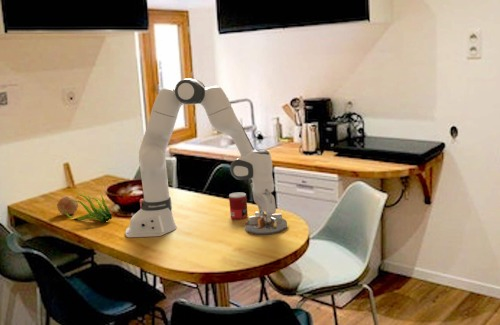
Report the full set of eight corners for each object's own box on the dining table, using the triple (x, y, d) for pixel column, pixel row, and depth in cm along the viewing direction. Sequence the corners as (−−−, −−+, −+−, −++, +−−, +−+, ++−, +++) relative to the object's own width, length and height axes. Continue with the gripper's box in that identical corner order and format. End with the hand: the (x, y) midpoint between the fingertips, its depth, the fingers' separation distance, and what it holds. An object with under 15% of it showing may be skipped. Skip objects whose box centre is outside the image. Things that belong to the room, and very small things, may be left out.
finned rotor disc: (273, 229, 217) (272, 221, 216) (245, 227, 223) (245, 219, 222) (285, 218, 229) (285, 210, 229) (259, 216, 235) (258, 209, 234)
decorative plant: (92, 209, 274) (88, 182, 270) (114, 222, 250) (110, 192, 247) (57, 217, 264) (53, 189, 260) (76, 232, 240) (72, 201, 237)
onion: (58, 213, 270) (55, 195, 268) (78, 210, 273) (75, 191, 271) (59, 219, 261) (56, 199, 259) (79, 215, 264) (76, 196, 262)
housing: (247, 237, 217) (247, 227, 216) (243, 223, 234) (242, 213, 233) (290, 232, 219) (290, 222, 218) (283, 218, 236) (282, 209, 235)
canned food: (246, 219, 239) (244, 196, 236) (229, 220, 240) (227, 197, 238) (249, 214, 246) (247, 191, 243) (232, 214, 247) (230, 192, 245)
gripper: (278, 192, 214) (280, 224, 217) (263, 180, 233) (265, 210, 236) (263, 194, 212) (265, 226, 215) (249, 182, 231) (251, 212, 234)
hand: (265, 218), depth 226 cm, fingers open, 8 cm apart
